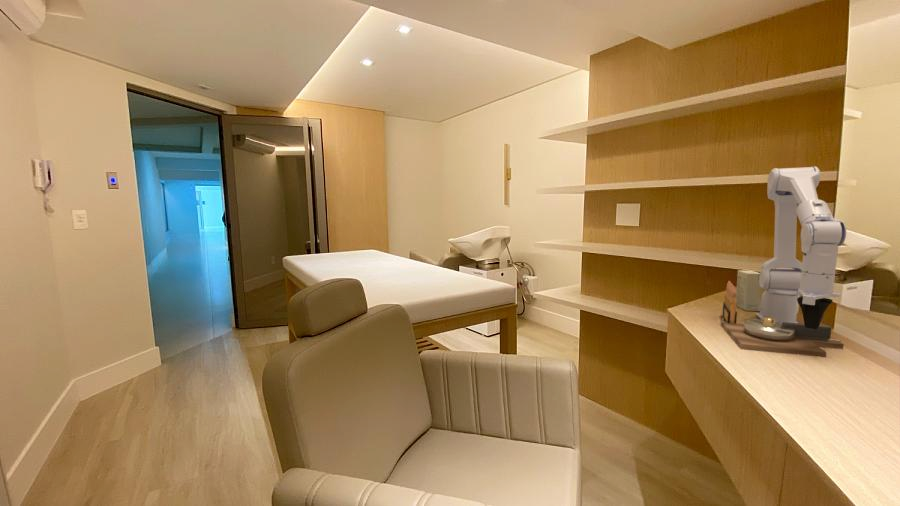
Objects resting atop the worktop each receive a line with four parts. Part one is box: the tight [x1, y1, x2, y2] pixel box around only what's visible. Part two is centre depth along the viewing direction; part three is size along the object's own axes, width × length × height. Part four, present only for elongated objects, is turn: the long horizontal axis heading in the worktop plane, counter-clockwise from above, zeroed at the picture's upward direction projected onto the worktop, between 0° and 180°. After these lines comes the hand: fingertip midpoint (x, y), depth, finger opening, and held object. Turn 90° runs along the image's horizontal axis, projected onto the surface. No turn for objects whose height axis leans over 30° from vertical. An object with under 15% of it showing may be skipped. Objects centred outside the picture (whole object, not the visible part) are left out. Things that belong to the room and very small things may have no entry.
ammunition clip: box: [722, 280, 738, 324], centre depth 111 cm, size 11×2×12 cm, turn 152°
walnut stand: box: [720, 321, 845, 358], centre depth 97 cm, size 18×22×1 cm
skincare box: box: [736, 269, 762, 312], centre depth 123 cm, size 6×4×12 cm
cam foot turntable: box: [743, 317, 832, 340], centre depth 97 cm, size 17×10×4 cm, turn 68°
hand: (811, 327), depth 91 cm, fingers closed
